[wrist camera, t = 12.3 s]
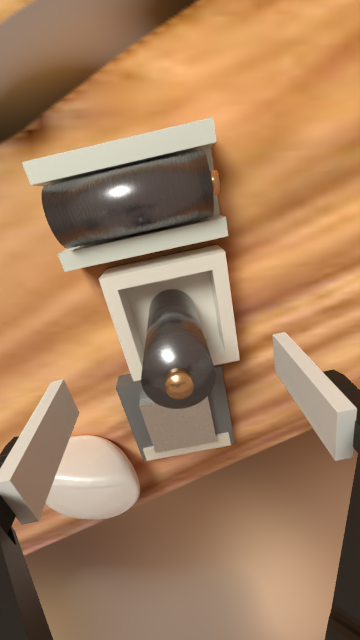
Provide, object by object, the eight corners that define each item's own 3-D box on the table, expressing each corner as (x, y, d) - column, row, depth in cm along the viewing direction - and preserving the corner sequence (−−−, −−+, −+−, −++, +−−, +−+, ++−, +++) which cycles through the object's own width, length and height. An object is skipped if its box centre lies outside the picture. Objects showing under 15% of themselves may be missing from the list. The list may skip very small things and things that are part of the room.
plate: (155, 445, 32) (155, 453, 31) (140, 399, 29) (139, 405, 28) (215, 434, 31) (216, 441, 30) (205, 386, 28) (206, 392, 27)
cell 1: (78, 243, 23) (60, 253, 19) (58, 186, 21) (33, 183, 17) (217, 212, 22) (228, 216, 18) (208, 151, 21) (219, 140, 17)
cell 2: (154, 335, 27) (149, 424, 16) (144, 294, 25) (131, 361, 14) (198, 327, 27) (222, 410, 16) (191, 285, 25) (212, 346, 14)
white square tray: (136, 361, 29) (133, 381, 26) (107, 268, 25) (98, 279, 22) (231, 342, 29) (239, 360, 25) (217, 244, 24) (225, 251, 21)
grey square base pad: (144, 446, 34) (143, 462, 32) (118, 376, 30) (115, 389, 28) (231, 430, 34) (235, 445, 32) (218, 356, 29) (222, 368, 27)
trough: (77, 262, 24) (64, 271, 21) (42, 167, 21) (21, 162, 18) (220, 230, 24) (228, 236, 21) (206, 128, 21) (213, 117, 18)
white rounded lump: (10, 477, 24) (99, 585, 23) (95, 404, 33) (161, 481, 32) (-13, 500, 30) (57, 587, 29) (64, 433, 39) (120, 499, 38)
